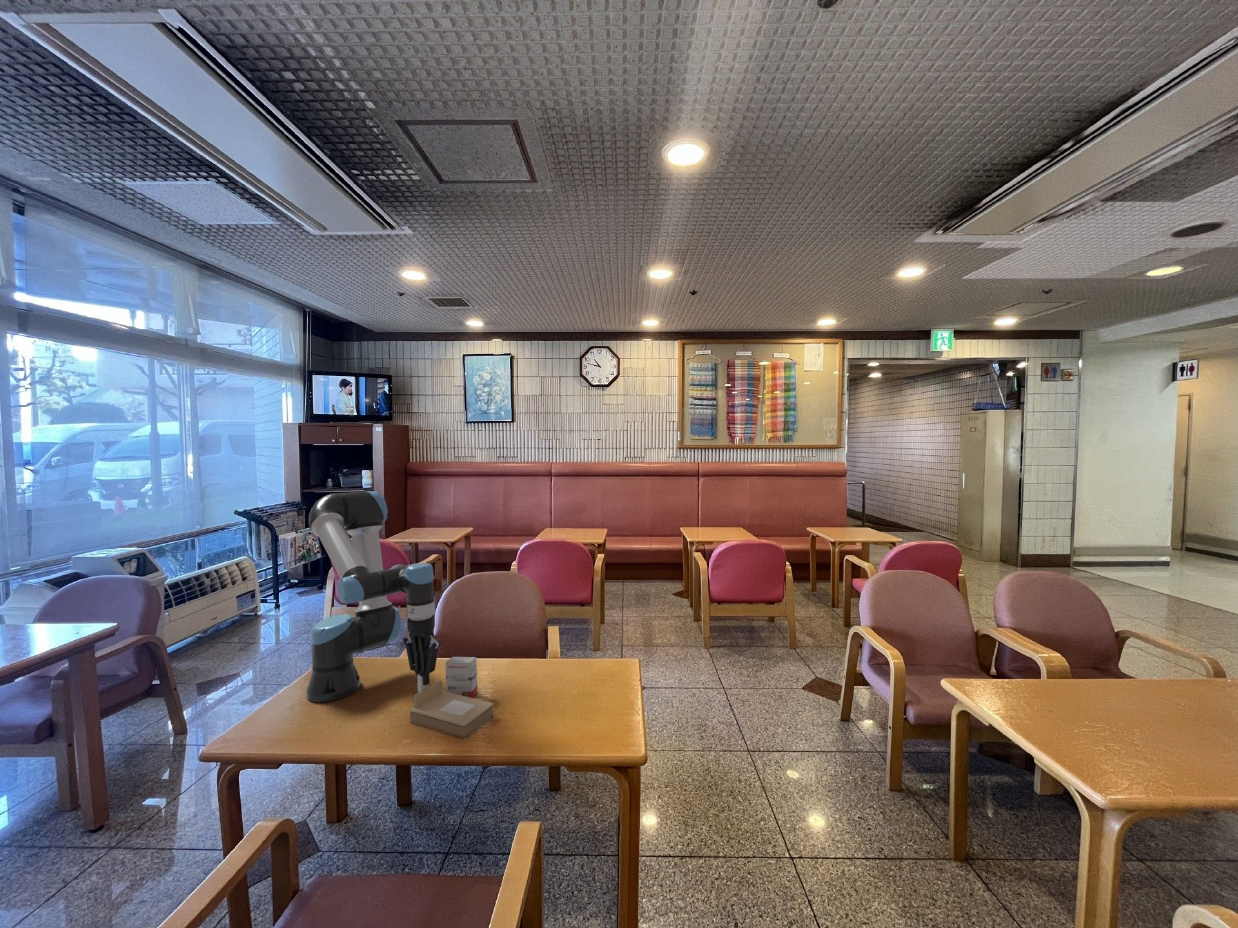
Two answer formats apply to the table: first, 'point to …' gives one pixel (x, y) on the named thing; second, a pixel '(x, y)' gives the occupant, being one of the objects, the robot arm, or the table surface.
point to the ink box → (462, 676)
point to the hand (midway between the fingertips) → (423, 694)
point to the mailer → (451, 724)
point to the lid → (448, 705)
